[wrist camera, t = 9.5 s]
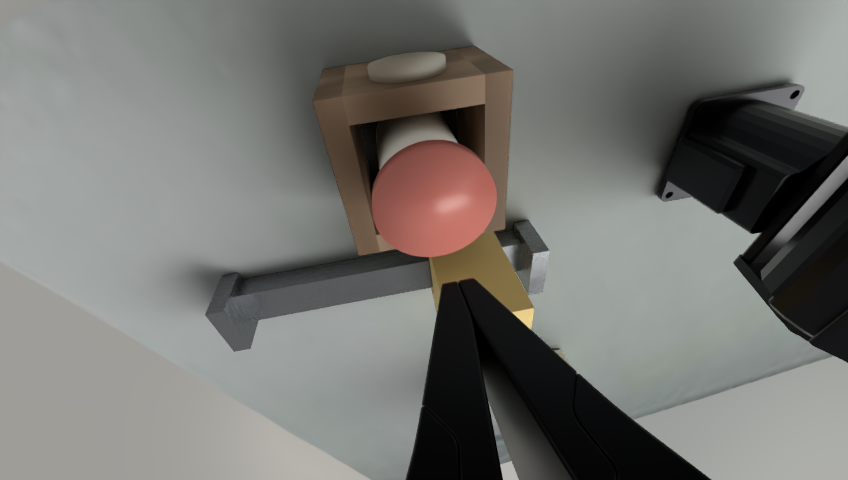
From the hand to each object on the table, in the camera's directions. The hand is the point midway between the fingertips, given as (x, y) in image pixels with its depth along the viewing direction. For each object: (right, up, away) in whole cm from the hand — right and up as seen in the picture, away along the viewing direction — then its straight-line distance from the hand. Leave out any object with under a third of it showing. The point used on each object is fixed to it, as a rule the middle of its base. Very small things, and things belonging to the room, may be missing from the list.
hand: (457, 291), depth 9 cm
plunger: (-2, +7, +8) cm, 11 cm away
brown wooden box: (-2, +7, +9) cm, 11 cm away
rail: (-4, -1, +14) cm, 15 cm away
